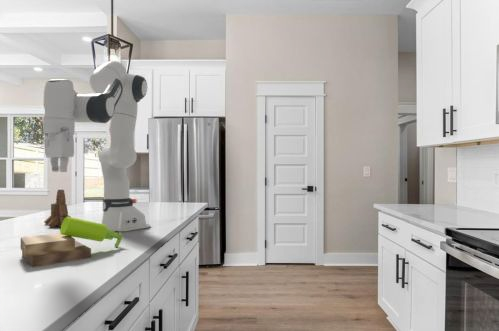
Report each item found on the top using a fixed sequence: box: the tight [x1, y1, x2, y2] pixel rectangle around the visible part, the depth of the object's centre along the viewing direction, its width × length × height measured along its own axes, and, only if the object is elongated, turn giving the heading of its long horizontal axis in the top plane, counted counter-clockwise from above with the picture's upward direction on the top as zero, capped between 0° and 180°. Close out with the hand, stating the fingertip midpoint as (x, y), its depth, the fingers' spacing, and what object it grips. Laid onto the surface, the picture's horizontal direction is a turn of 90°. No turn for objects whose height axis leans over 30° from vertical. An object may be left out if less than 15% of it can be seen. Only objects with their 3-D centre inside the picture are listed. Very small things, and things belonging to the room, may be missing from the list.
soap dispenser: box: [59, 216, 124, 249], centre depth 117 cm, size 6×7×20 cm
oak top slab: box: [20, 232, 76, 257], centre depth 108 cm, size 13×13×4 cm
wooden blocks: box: [43, 189, 71, 229], centre depth 167 cm, size 25×12×18 cm, turn 39°
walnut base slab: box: [21, 240, 92, 268], centre depth 110 cm, size 16×16×4 cm
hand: (59, 171), depth 110 cm, fingers open, 8 cm apart
